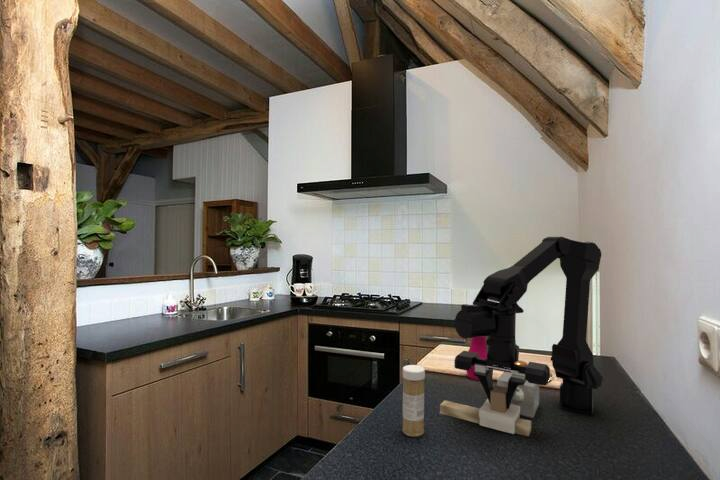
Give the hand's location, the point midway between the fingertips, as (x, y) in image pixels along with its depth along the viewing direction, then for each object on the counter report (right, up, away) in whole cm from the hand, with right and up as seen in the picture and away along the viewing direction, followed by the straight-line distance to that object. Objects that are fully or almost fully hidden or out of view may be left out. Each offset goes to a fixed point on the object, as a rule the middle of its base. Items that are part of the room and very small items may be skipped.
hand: (499, 406), depth 85 cm
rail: (-3, -4, +2) cm, 5 cm away
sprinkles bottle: (-19, -4, -3) cm, 20 cm away
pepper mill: (+4, -4, +30) cm, 31 cm away
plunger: (+8, +1, +9) cm, 12 cm away
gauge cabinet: (+8, -4, +9) cm, 13 cm away
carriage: (0, -4, 0) cm, 4 cm away
